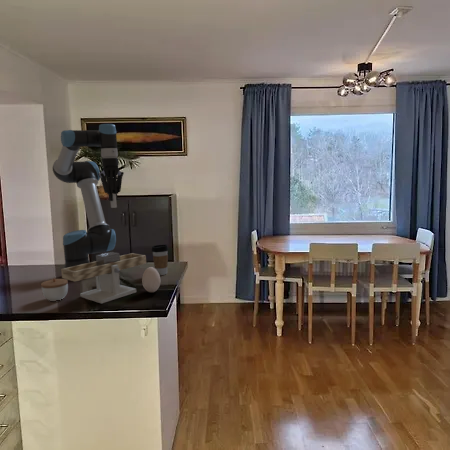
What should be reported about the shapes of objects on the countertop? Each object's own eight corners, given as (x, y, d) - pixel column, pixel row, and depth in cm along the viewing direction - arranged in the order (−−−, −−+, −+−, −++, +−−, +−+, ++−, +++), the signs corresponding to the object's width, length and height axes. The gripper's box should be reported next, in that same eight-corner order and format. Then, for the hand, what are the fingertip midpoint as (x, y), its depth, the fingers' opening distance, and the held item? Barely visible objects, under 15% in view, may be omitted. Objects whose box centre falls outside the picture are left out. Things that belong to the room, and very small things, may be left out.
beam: (74, 281, 164) (74, 271, 163) (62, 277, 170) (61, 268, 170) (146, 263, 191) (145, 255, 190) (132, 260, 197) (132, 252, 197)
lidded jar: (47, 296, 183) (45, 275, 182) (72, 294, 184) (70, 274, 183) (39, 304, 173) (36, 282, 171) (65, 302, 174) (63, 281, 172)
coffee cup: (166, 276, 208) (164, 247, 206) (150, 275, 210) (148, 247, 208) (172, 271, 216) (170, 243, 214) (156, 271, 218) (154, 243, 216)
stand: (101, 303, 170) (98, 270, 168) (80, 296, 181) (77, 265, 179) (136, 292, 184) (134, 261, 182) (114, 286, 194) (112, 257, 192)
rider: (104, 268, 176) (103, 256, 176) (96, 266, 180) (95, 255, 179) (120, 264, 182) (119, 253, 182) (112, 262, 186) (111, 251, 185)
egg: (145, 296, 178) (143, 270, 176) (141, 291, 185) (139, 266, 183) (163, 293, 181) (161, 267, 179) (158, 288, 188) (156, 264, 187)
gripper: (102, 157, 187) (106, 209, 191) (126, 157, 197) (129, 206, 200) (93, 158, 192) (97, 208, 195) (116, 157, 202) (120, 205, 205)
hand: (113, 207), depth 198 cm, fingers closed
